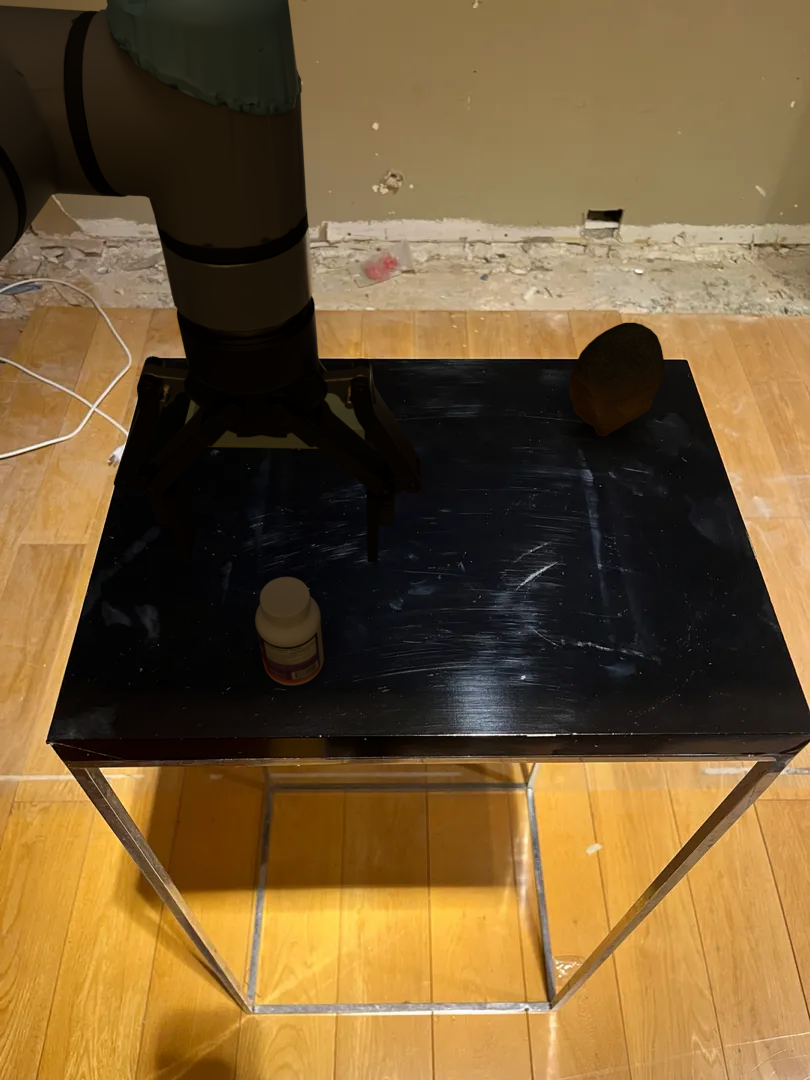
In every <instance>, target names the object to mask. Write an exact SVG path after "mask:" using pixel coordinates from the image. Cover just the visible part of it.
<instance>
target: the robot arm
mask: <svg viewBox="0 0 810 1080" xmlns="http://www.w3.org/2000/svg"><path fill="white" fill-rule="evenodd" d="M291 19H292V18H291V12H290V4H289V0H106V7H105V8H104V9H100V10H80V9H63V8H51V7H48V8H47V7H35V6H34V7H33V6H17V5H4V4H3V5H1V4H0V263H1V262H2V260H3V259H4V258H5V256H7V255H8V254H9V253H10V252H11V251H12V250H13V248H14V247H15V246H16V245H17V244H18V243H19V242H20V240H21V238H22V237H23V236H24V234H25V233H26V231H27V230H28V229H29V228H30V226H31V225H32V223H33V222H34V221H35V219H36V218H37V216H38V215H39V214H40V212H41V211H42V210H43V208H44V207H45V205H46V204H47V203H48V200H50V198H51V197H52V196H54V195H61V194H62V195H78V196H92V197H93V196H94V197H95V196H96V197H114V198H125V197H128V196H129V197H144V198H147V199H148V200H149V203H150V206H151V210H152V213H153V215H154V221H155V225H156V230H157V234H158V237H159V242H160V245H161V246H160V247H161V250H162V256H163V260H164V265H165V269H166V274H167V279H168V284H169V288H170V293H171V299H172V302H173V305H174V307H175V309H176V319H177V324H178V328H179V332H180V337H181V342H182V346H183V351H184V355H185V360H186V366H187V367H188V368H186V369H185V368H178V367H177V368H176V367H166V363H165V361H164V360H163V359H162V358H161V357H159V356H156V355H150V356H147V357H146V358H145V360H144V363H143V366H142V369H141V372H140V375H139V378H138V381H137V385H136V393H137V402H138V409H137V412H136V415H135V418H134V420H133V423H132V426H131V429H130V432H129V434H128V437H127V440H126V442H125V446H124V448H123V450H122V453H121V456H120V460H119V463H118V467H117V469H116V473H115V476H114V480H113V486H114V488H115V489H117V490H119V491H122V492H129V491H131V490H132V489H137V490H140V491H142V492H143V493H144V495H145V496H147V498H148V501H149V505H150V508H151V510H152V514H153V518H154V520H155V521H156V522H157V523H158V524H159V525H169V527H170V530H171V533H172V537H173V541H174V544H175V547H176V550H177V554H178V557H179V561H180V562H192V559H193V553H194V549H195V545H196V541H197V540H196V539H197V535H198V533H197V528H196V524H195V520H194V516H193V514H192V510H191V506H190V503H189V498H188V495H187V490H186V487H185V483H184V479H183V475H182V474H183V473H184V472H185V471H186V470H187V469H188V468H189V467H190V466H191V465H192V464H193V463H194V462H195V461H196V460H197V459H198V457H199V456H201V454H203V452H204V451H205V450H206V449H207V448H212V447H211V446H213V445H214V444H215V443H216V442H217V441H218V440H219V439H220V437H221V436H222V435H223V434H224V433H225V432H226V431H227V430H228V431H230V432H232V433H236V435H237V437H254V436H259V435H264V436H268V437H273V438H287V434H290V433H293V434H294V435H295V436H296V437H298V438H299V439H300V440H301V441H303V442H304V443H305V444H306V445H308V446H309V447H311V448H313V447H314V446H316V447H317V448H319V449H318V450H320V451H321V452H322V453H323V454H325V455H326V456H327V457H328V458H330V459H331V460H332V461H333V462H334V463H335V464H337V465H338V466H339V467H341V468H342V470H344V471H345V472H347V473H348V474H349V475H350V476H352V477H353V478H354V479H355V480H356V481H358V483H360V484H361V485H362V486H364V487H365V489H366V503H365V505H366V549H367V550H366V552H367V563H369V564H378V563H379V526H382V527H383V526H386V527H392V526H393V524H394V522H395V509H396V508H395V505H396V504H395V503H396V496H397V495H398V494H399V493H401V492H404V491H405V492H406V493H409V494H418V493H420V492H421V491H422V489H423V475H422V474H423V471H422V459H421V457H420V455H419V454H418V452H417V451H416V449H415V448H414V446H413V445H412V443H411V442H410V439H408V436H407V435H406V433H405V432H404V431H403V429H402V427H401V426H400V424H399V422H398V421H397V419H396V418H395V416H394V415H393V413H392V412H391V410H390V408H389V407H388V406H387V404H386V402H385V401H384V399H383V398H382V396H381V394H380V393H379V391H378V389H377V388H376V386H375V379H374V374H373V373H374V372H373V366H372V364H371V362H370V361H369V360H368V359H366V358H361V357H359V358H356V359H355V360H353V361H352V363H351V368H344V369H333V370H332V369H331V370H326V368H325V366H323V363H321V359H320V357H319V356H320V355H319V346H318V333H317V332H318V331H317V319H316V318H317V317H316V316H317V315H316V306H315V305H316V304H315V301H314V300H315V299H314V297H313V292H314V290H313V289H314V276H313V263H312V251H311V237H310V226H309V216H308V206H307V190H306V189H307V188H306V170H305V153H304V134H303V133H304V132H303V118H302V117H303V115H302V93H303V92H302V91H303V89H302V88H303V85H302V78H301V75H299V70H298V67H297V59H296V51H295V44H294V43H295V42H294V35H293V28H292V20H291ZM181 393H185V394H186V396H187V397H188V399H190V401H191V400H192V401H193V402H194V403H195V404H197V405H198V406H199V409H198V411H197V412H196V413H195V414H194V415H193V416H192V417H191V418H190V420H189V421H188V422H187V423H186V424H185V423H184V425H183V426H182V427H181V428H180V429H179V430H178V432H177V433H176V434H175V435H174V436H173V437H172V438H171V439H170V441H169V442H168V443H167V444H166V445H165V446H163V448H162V449H161V451H159V453H158V454H157V455H156V456H155V454H152V456H151V460H150V462H147V461H146V462H145V461H144V459H145V456H146V453H147V451H148V448H149V446H150V443H151V441H152V438H153V437H154V434H155V431H156V428H157V425H158V423H159V420H160V415H161V413H162V410H163V409H165V408H167V407H168V406H169V405H170V404H172V403H174V402H175V400H176V397H177V395H178V394H181ZM327 393H332V394H335V395H337V396H338V397H339V398H340V400H341V402H342V403H343V404H345V408H347V409H354V413H355V416H356V418H357V420H358V422H359V424H360V425H361V427H362V428H363V430H364V431H365V435H366V436H367V437H368V439H369V440H370V442H371V444H373V446H374V447H373V446H372V445H371V444H370V443H369V442H368V441H367V440H366V439H365V440H364V439H363V438H362V437H361V436H359V435H358V434H357V433H356V432H355V431H354V430H353V429H351V428H350V427H349V426H348V425H347V424H346V423H344V422H343V421H342V420H341V419H340V418H339V417H338V416H336V415H335V414H334V413H333V412H332V411H331V409H330V406H329V404H328V403H327V402H326V401H325V400H324V399H325V398H326V396H327ZM162 408H163V409H162ZM208 446H210V447H208Z"/></svg>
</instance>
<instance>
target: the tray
mask: <svg viewBox="0 0 810 1080" xmlns="http://www.w3.org/2000/svg"><path fill="white" fill-rule="evenodd" d="M324 400H325V401H326V402H327V403H328V404H329V406H330V409H331V411H332V412H333V413H334V414H335V415H336V416H338V417H339V418H340V419H341V420H342V421H343V422H344V423H346V424H347V425H348V426H349V427H350V428H351V429H353V430H354V431H355V432H356V433H357V434H358V435H359V436H361V437H362V438H363V439H364V440H365V441H366V433H365V431H364V430H363V428H362V427H361V425H360V424H359V422H358V420H357V418H356V416H355V413H354V409H347V408H345V404H343V403H342V402H341V400H340V398H339V397H338V396H337V395H335V394H332V393H327V396H326V398H325V399H324ZM198 409H199V406H198V405H197V404H195V403H194V402H193V401H192V400H191V399H190V401H189V406H188V411H187V414H186V418H185V422H184V425H185V424H186V423H187V422H188V421H189V420H190V418H191V417H192V416H193V415H194V414H195V413H196V412H197V411H198ZM207 448H245V449H246V448H247V449H250V448H252V449H301V450H303V449H305V450H306V449H310V450H320V449H319V448H317V447H316V446H314V447H313V448H311V447H309V446H308V445H306V444H305V443H304V442H303V441H301V440H300V439H299V438H298V437H296V436H295V435H294V434H293V433H290V434H287V438H273V437H268V436H264V435H259V436H254V437H237V435H236V433H232V432H230V431H228V430H227V431H226V432H225V433H224V434H223V435H222V436H221V437H220V439H219V440H218V441H217V442H216V443H215V444H214V445H213V446H211V447H210V446H208V447H207Z"/></svg>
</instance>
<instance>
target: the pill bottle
mask: <svg viewBox="0 0 810 1080" xmlns="http://www.w3.org/2000/svg"><path fill="white" fill-rule="evenodd" d="M254 622H255V623H254V624H255V630H256V633H257V638H258V644H259V648H260V653H261V658H262V659H261V660H262V664H263V668H264V670H265V672H266V674H267V675H268V677H270V678H271V679H272V680H273V681H274V682H276V683H278V684H280V685H284V686H300V685H304V684H306V683H309V682H311V681H312V680H313V679H314V678H315V677H317V675H319V673H320V672H321V670H322V668H323V666H324V661H325V648H324V647H325V646H324V639H323V638H324V637H323V626H322V616H321V609H320V607H319V605H318V603H317V602H316V600H315V599H314V598H313V597H312V596H311V593H310V590H309V587H308V586H307V585H306V584H305V583H304V581H302V580H301V579H299V578H297V577H293V576H281V577H277V578H273V579H272V580H270V581H269V582H268V583H266V584H265V585H264V587H263V588H262V589H261V591H260V595H259V605H258V607H257V609H256V612H255V616H254Z"/></svg>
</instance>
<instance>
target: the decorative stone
mask: <svg viewBox="0 0 810 1080" xmlns="http://www.w3.org/2000/svg"><path fill="white" fill-rule="evenodd" d="M665 370H666V365H665V358H664V353H663V347H662V345H661V342H660V340H659V337H658V335H657V334H656V333H655V332H654V331H653V330H652V329H651V328H649V327H647V326H646V325H643V323H637V322H622V323H619V324H616V325H614V326H613V327H610V328H608V329H606V330H604V331H602V332H601V333H600V334H599V335H598V336H596V337H595V338H593V339H592V340H591V341H590V342H589V343H588V344H586V346H585V347H584V348H583V350H582V351H581V352H580V354H579V356H578V357H577V360H576V361H575V363H574V366H573V368H572V370H571V372H570V374H569V378H568V383H569V388H568V389H569V390H568V391H569V393H568V394H569V399H570V400H571V402H572V404H573V408H572V410H573V412H574V413H575V414H576V415H577V416H578V417H579V418H580V419H581V420H582V421H583V422H584V423H586V424H587V425H590V426H592V427H593V429H594V432H595V434H596V435H597V436H599V437H606V436H609V435H610V434H611V433H613V432H615V431H617V430H618V429H620V428H622V427H624V426H625V425H626V424H628V423H630V422H632V421H634V420H635V419H637V418H639V417H640V416H642V415H643V414H645V413H647V411H649V410H650V409H651V406H652V405H653V404H652V403H653V400H654V398H655V395H656V393H657V391H658V389H659V387H660V384H661V383H662V381H663V379H664V376H665Z"/></svg>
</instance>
